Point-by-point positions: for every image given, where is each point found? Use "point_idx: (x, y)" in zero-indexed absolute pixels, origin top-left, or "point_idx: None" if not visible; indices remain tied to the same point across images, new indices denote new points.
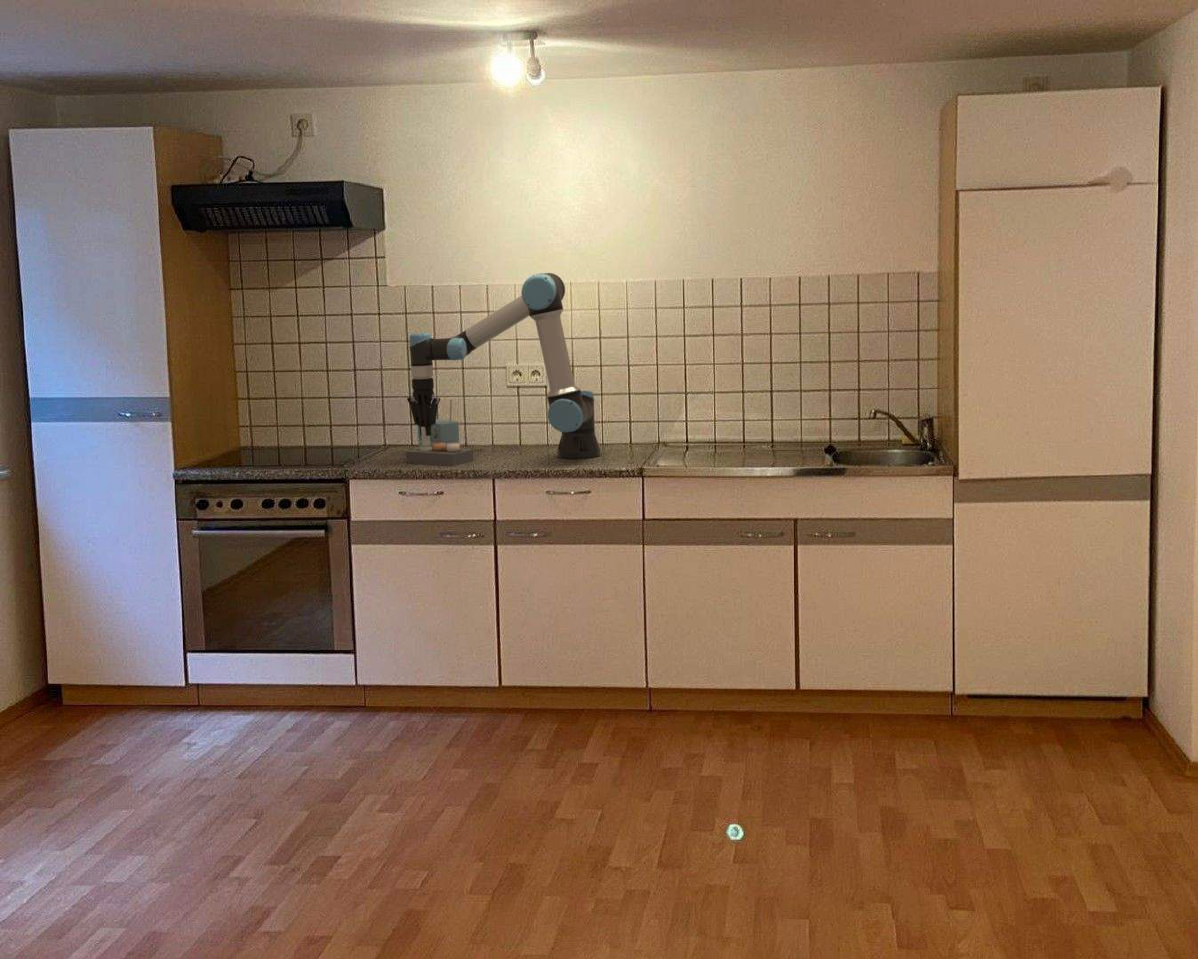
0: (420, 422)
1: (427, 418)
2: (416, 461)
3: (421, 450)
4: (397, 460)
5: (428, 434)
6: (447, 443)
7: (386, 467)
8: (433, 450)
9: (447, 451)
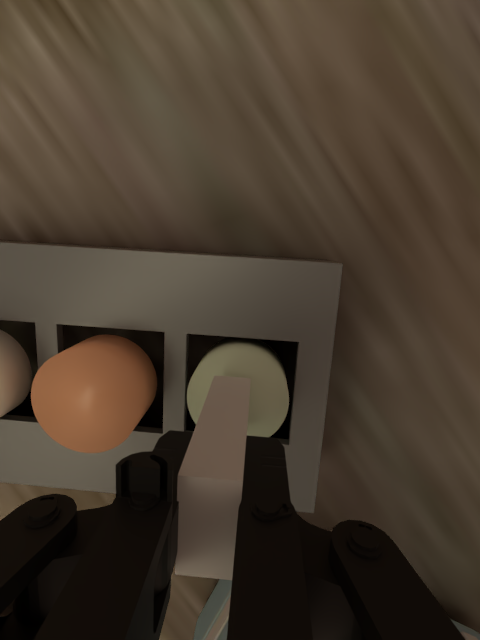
0: (252, 542)
1: (55, 622)
2: (243, 255)
3: (246, 344)
4: (448, 334)
5: (163, 437)
6: (221, 621)
7: (355, 25)
8: (136, 346)
9: (5, 334)
